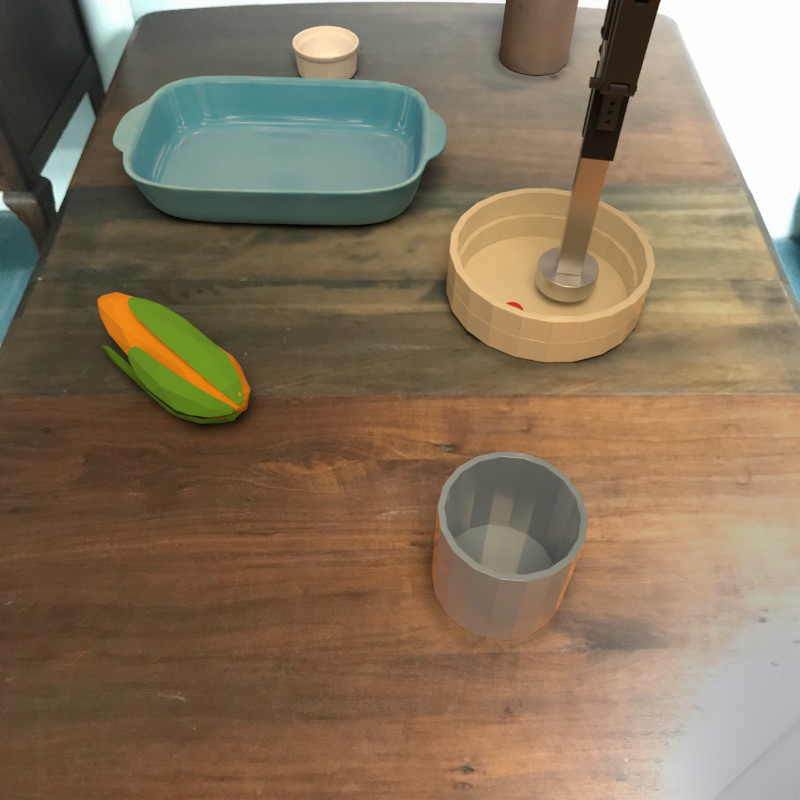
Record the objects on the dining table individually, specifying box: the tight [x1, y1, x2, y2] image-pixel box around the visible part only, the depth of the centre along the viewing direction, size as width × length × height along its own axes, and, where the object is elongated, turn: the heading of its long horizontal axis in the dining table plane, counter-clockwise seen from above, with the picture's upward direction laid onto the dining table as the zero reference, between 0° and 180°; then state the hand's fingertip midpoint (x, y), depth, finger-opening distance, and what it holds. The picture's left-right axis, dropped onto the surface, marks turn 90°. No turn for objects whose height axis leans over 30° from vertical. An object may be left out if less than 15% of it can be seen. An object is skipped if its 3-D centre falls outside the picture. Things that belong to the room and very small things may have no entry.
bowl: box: [445, 187, 656, 363], centre depth 79 cm, size 20×20×6 cm
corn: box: [96, 291, 252, 425], centre depth 71 cm, size 7×8×20 cm
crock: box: [431, 450, 589, 641], centre depth 57 cm, size 10×10×10 cm
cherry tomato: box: [506, 302, 524, 311], centre depth 77 cm, size 2×2×2 cm
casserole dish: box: [112, 75, 448, 226], centre depth 90 cm, size 37×22×7 cm, turn 87°
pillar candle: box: [498, 0, 579, 76], centre depth 106 cm, size 10×10×15 cm
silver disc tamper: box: [535, 40, 610, 302], centre depth 70 cm, size 6×6×24 cm
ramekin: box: [291, 25, 360, 79], centre depth 107 cm, size 9×9×4 cm
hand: (597, 146), depth 67 cm, fingers closed on silver disc tamper, 2 cm apart
